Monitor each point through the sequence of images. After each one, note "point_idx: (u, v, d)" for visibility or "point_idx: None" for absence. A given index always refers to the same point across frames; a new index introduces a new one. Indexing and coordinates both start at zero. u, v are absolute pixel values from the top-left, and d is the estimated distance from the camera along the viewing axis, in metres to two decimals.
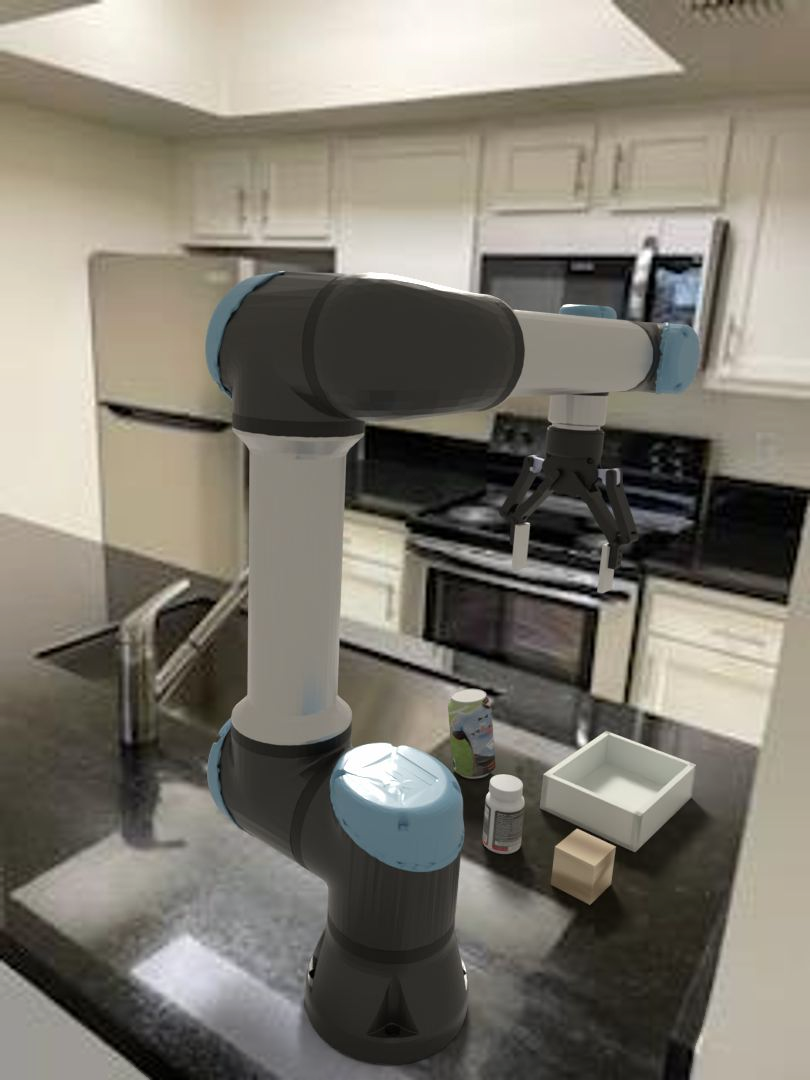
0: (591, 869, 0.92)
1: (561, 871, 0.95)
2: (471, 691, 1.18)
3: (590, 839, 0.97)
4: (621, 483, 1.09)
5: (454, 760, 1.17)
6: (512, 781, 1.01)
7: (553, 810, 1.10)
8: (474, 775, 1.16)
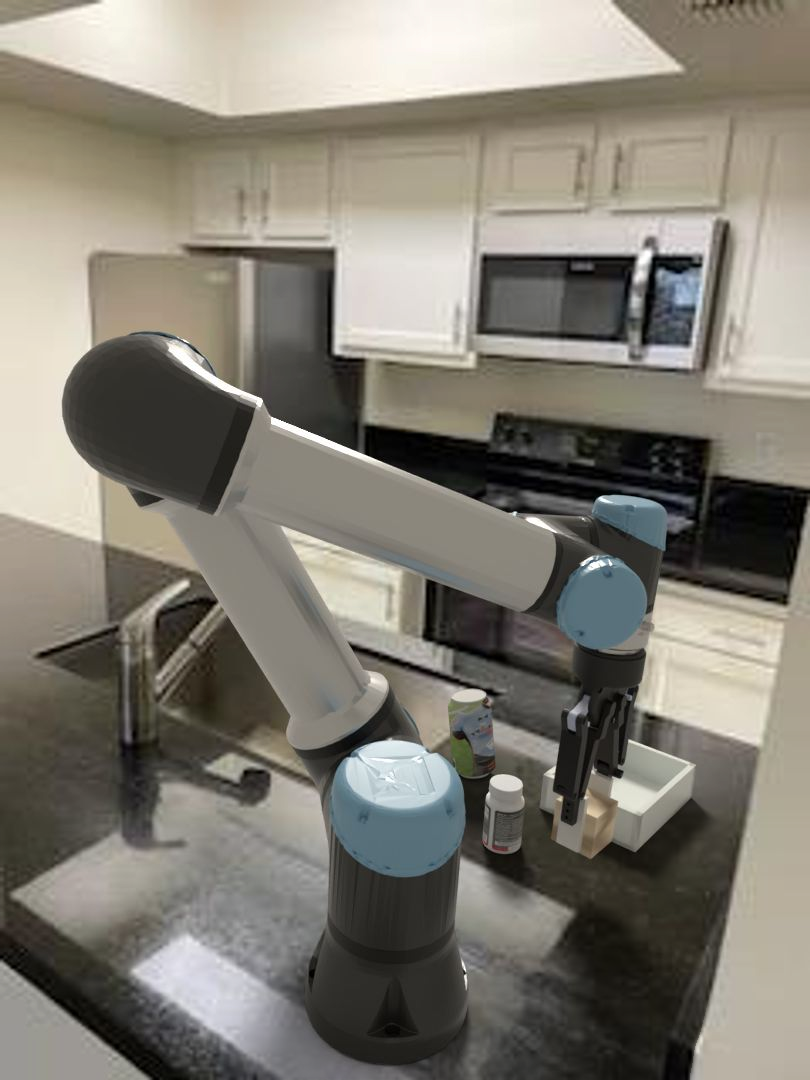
0: (593, 821, 0.90)
1: None
2: (471, 691, 1.18)
3: (592, 793, 0.95)
4: (579, 734, 0.86)
5: (454, 760, 1.17)
6: (512, 781, 1.01)
7: (553, 810, 1.10)
8: (474, 775, 1.16)
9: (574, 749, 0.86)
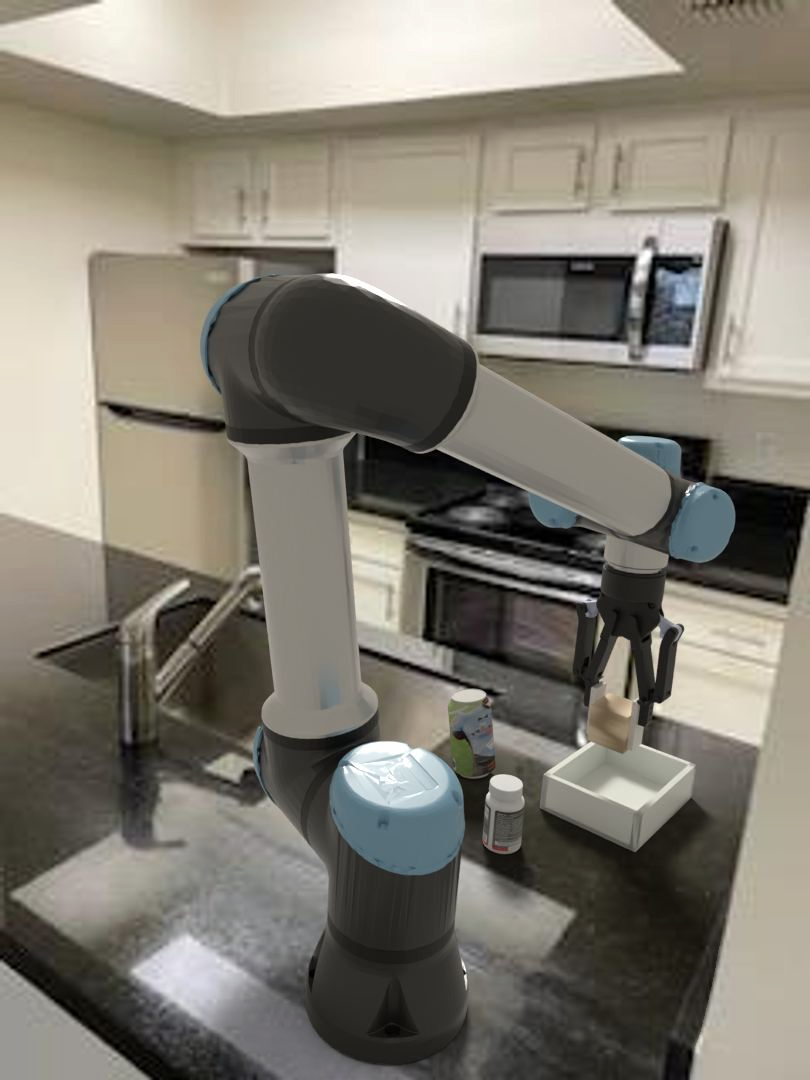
0: None
1: None
2: (471, 691, 1.18)
3: (604, 701, 1.08)
4: (677, 640, 1.01)
5: (454, 760, 1.17)
6: (512, 781, 1.01)
7: (553, 810, 1.10)
8: (474, 775, 1.16)
9: (674, 655, 1.01)
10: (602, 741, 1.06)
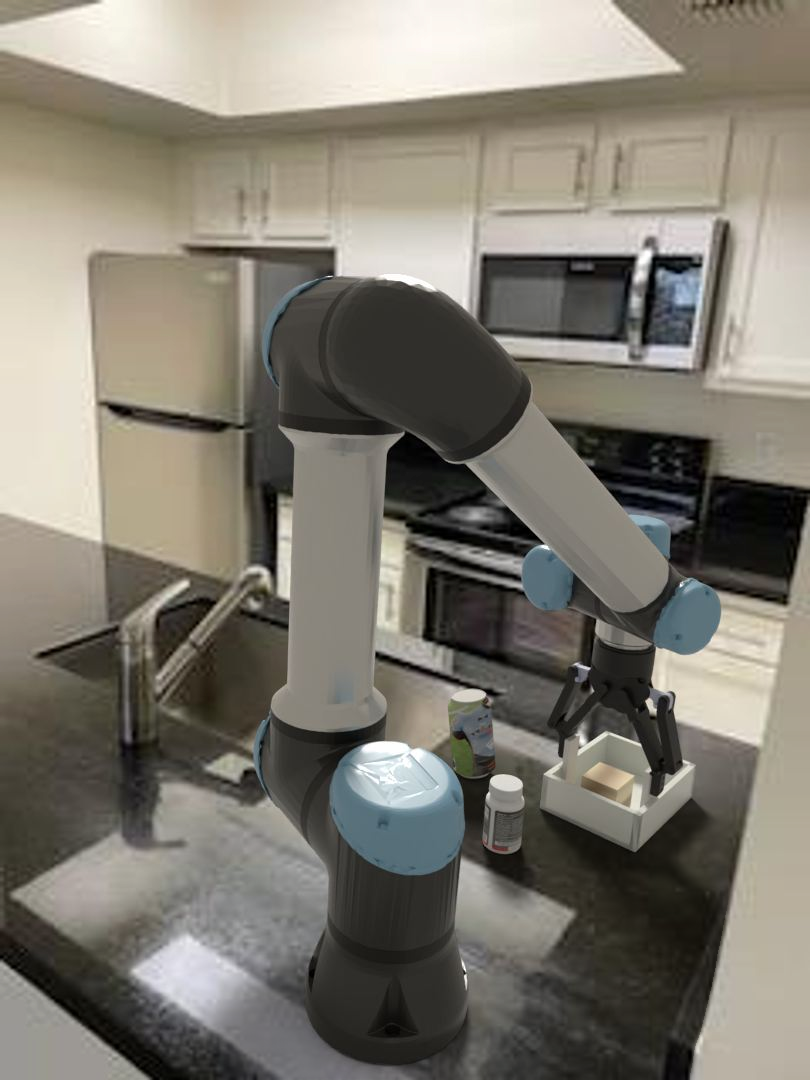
0: (632, 780, 1.10)
1: None
2: (471, 691, 1.18)
3: (595, 771, 1.10)
4: (672, 708, 1.03)
5: (454, 760, 1.17)
6: (512, 781, 1.01)
7: (553, 810, 1.10)
8: (474, 775, 1.16)
9: (673, 723, 1.03)
10: None
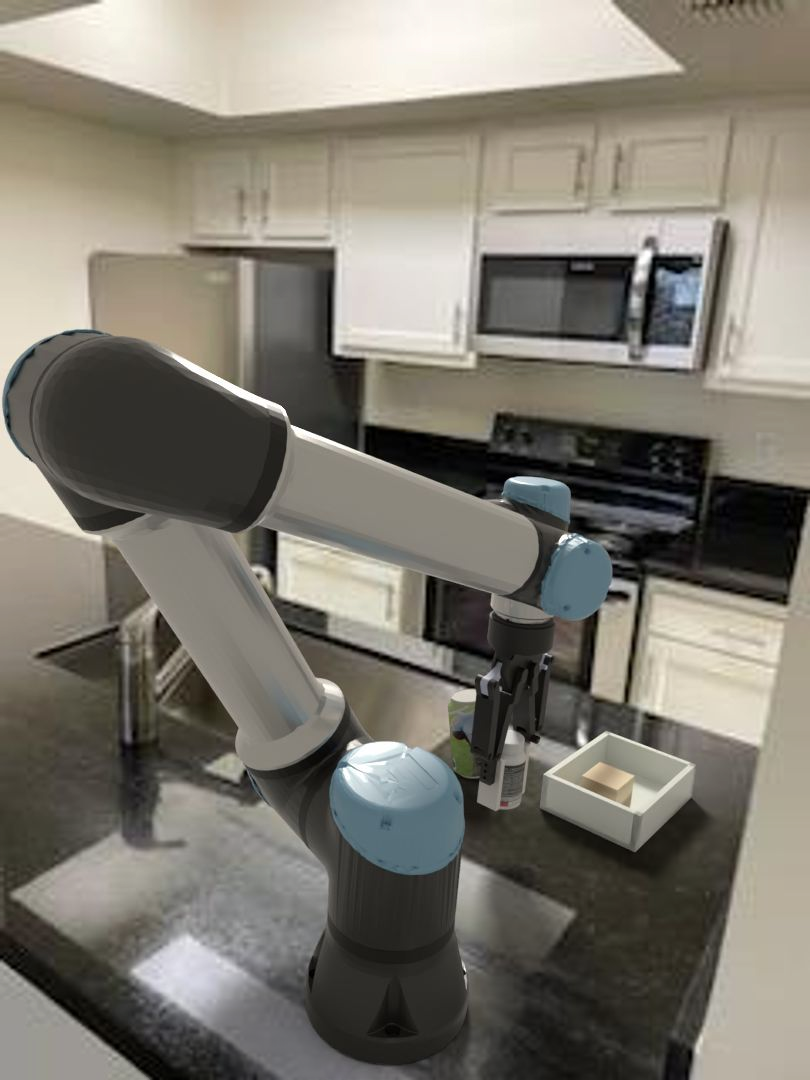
0: (632, 780, 1.10)
1: None
2: (471, 691, 1.18)
3: (595, 771, 1.10)
4: (491, 698, 0.92)
5: (454, 760, 1.17)
6: (513, 735, 1.00)
7: (553, 810, 1.10)
8: (474, 775, 1.16)
9: (487, 712, 0.93)
10: None
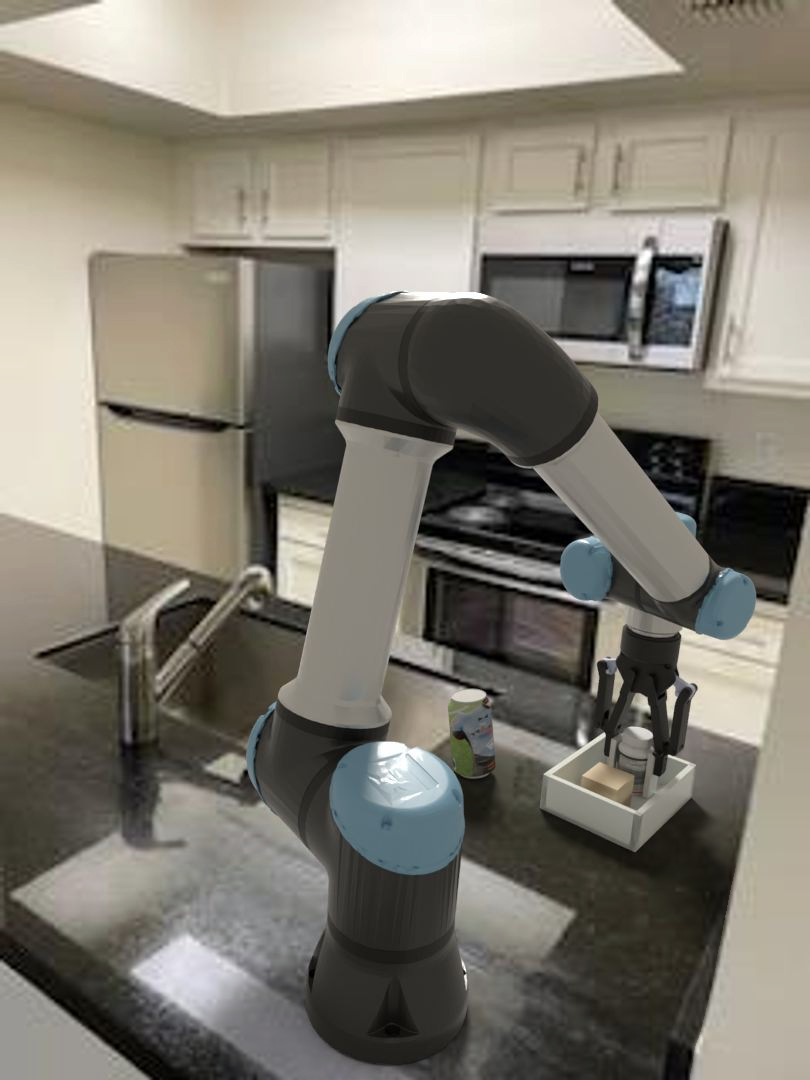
0: (632, 780, 1.10)
1: None
2: (471, 691, 1.18)
3: (595, 771, 1.10)
4: (691, 699, 1.10)
5: (454, 760, 1.17)
6: (634, 730, 1.15)
7: (553, 810, 1.10)
8: (474, 775, 1.16)
9: (687, 712, 1.10)
10: None
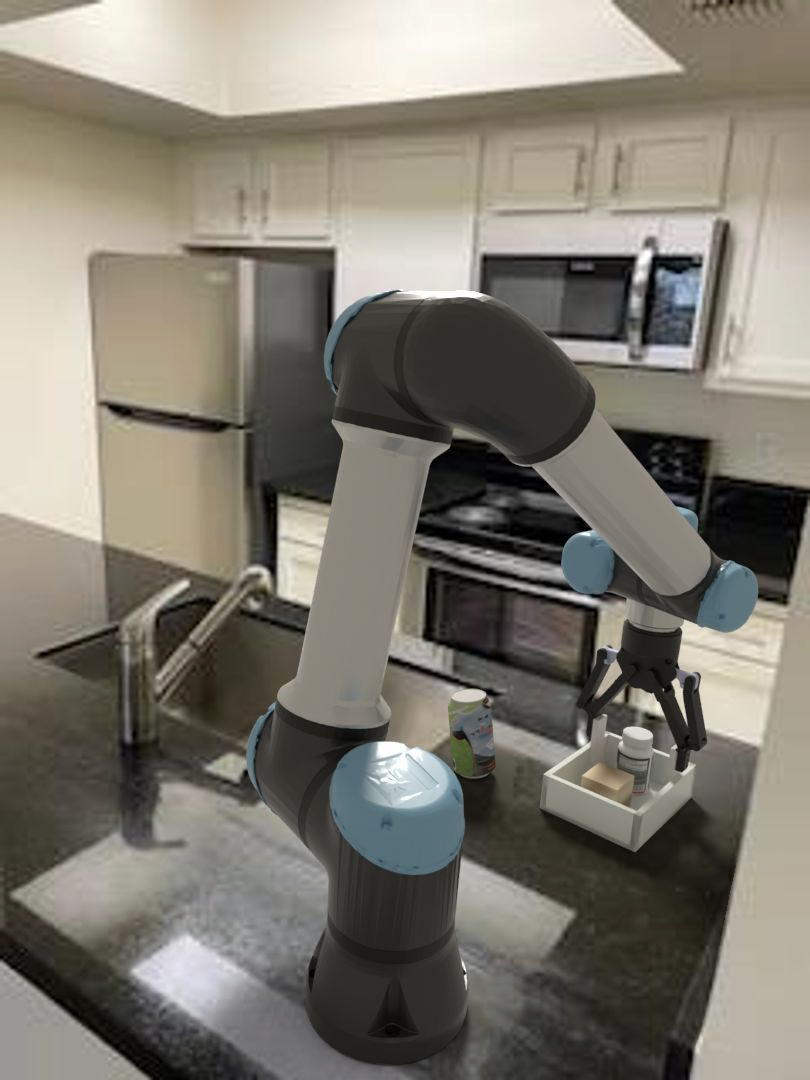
0: (632, 780, 1.10)
1: None
2: (471, 691, 1.18)
3: (595, 771, 1.10)
4: (698, 688, 1.09)
5: (454, 760, 1.17)
6: (634, 730, 1.15)
7: (553, 810, 1.10)
8: (474, 775, 1.16)
9: (698, 702, 1.08)
10: None
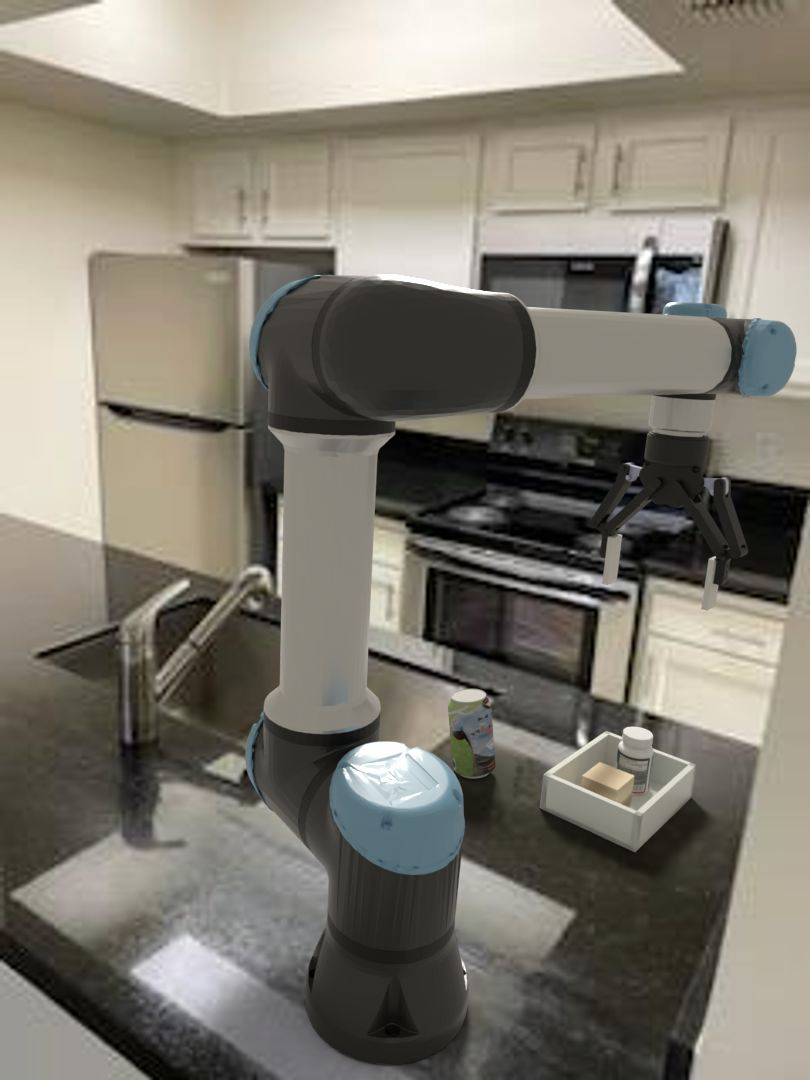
0: (632, 780, 1.10)
1: None
2: (471, 691, 1.18)
3: (595, 771, 1.10)
4: (729, 493, 1.02)
5: (454, 760, 1.17)
6: (634, 730, 1.15)
7: (553, 810, 1.10)
8: (474, 775, 1.16)
9: (732, 508, 1.02)
10: None
